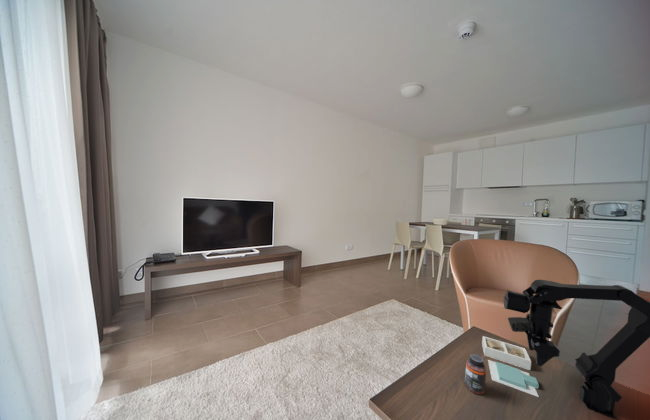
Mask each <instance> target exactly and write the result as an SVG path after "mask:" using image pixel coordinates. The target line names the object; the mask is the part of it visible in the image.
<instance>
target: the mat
mask: <svg viewBox="0 0 650 420" xmlns="http://www.w3.org/2000/svg"><path fill="white" fill-rule="evenodd" d="M496 362H497V361H494V360H490V359H487V364H488V367H489V372H490V377H491V381H493V382H496V383H498V384H501V385H505V386H507V387H510V388H512V389H516V390H518V391H521V392H523V393H526V394H528V395H532V396H534V397H537V398H539V393H538V392H537V388H534V387H531V386H529V385H526V384H525V385H526V389H523V388H521V387H518V386H515V385H512V384H510V383H507V382H504V381H501V380H499V377H498V373H497V369H496ZM520 372H521V374H525V375H528V376H531V375H530V373H529V372H526V371H523V370H520Z"/></svg>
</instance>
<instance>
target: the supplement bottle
mask: <svg viewBox="0 0 650 420" xmlns="http://www.w3.org/2000/svg"><path fill="white" fill-rule="evenodd" d="M464 374H465V377H464V385H465V387H466V388H467V390H469V391H470V392H472V393H474V394H476V395H483V394H484V393H485V390H486V379H487V366H486V365H485V362H484V358H483V357H481V356H480V355H478V354H475V353H471V354H470V355H469V358H468V359H466V363H465V373H464Z"/></svg>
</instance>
